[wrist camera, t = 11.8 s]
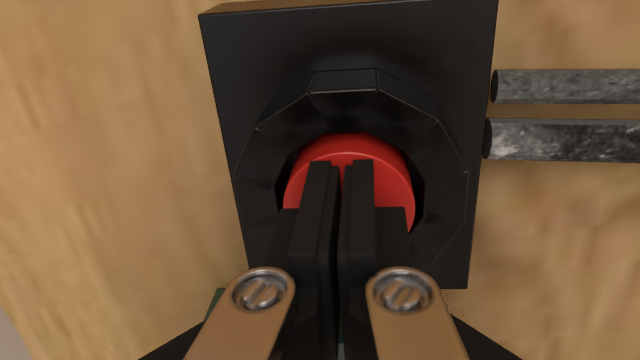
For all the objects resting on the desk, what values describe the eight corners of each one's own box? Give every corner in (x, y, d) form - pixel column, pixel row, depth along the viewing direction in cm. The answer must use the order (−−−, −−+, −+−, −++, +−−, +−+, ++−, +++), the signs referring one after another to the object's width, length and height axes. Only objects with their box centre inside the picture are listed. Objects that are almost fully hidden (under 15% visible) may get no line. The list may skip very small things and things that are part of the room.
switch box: (456, 251, 18) (478, 328, 14) (264, 252, 19) (240, 325, 15) (480, -17, 13) (522, 2, 10) (219, 3, 14) (170, 26, 10)
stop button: (408, 227, 14) (413, 263, 13) (298, 229, 15) (290, 263, 13) (411, 123, 12) (417, 150, 11) (285, 128, 13) (274, 154, 11)
